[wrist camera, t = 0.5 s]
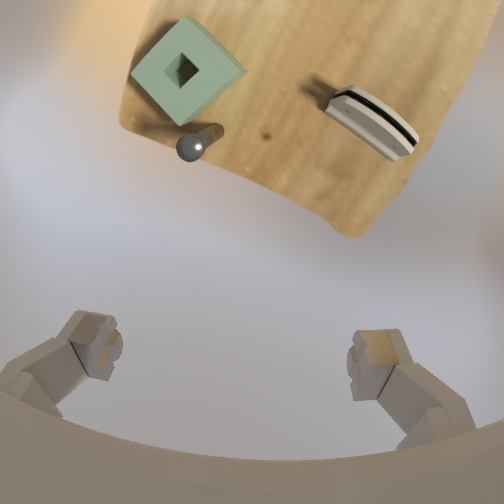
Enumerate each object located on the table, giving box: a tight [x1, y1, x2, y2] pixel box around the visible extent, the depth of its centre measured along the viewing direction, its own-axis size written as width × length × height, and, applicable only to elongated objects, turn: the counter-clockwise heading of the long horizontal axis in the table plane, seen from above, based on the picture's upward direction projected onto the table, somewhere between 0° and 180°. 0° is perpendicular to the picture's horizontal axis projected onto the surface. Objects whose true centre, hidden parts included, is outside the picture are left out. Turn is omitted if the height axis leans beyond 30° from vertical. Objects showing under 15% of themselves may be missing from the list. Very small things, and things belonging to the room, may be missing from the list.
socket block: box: [130, 16, 248, 126], centre depth 46 cm, size 15×15×6 cm
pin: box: [176, 123, 224, 162], centre depth 49 cm, size 4×4×14 cm
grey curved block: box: [324, 85, 419, 161], centre depth 44 cm, size 17×5×10 cm, turn 61°
